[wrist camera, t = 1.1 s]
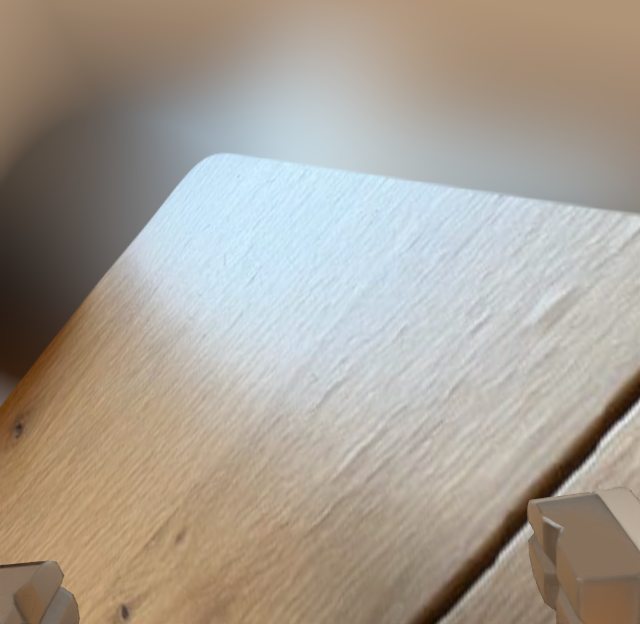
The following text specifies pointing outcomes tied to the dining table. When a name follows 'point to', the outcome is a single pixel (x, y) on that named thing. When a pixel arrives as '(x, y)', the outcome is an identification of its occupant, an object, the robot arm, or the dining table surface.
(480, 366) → the dining table surface
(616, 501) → the robot arm
